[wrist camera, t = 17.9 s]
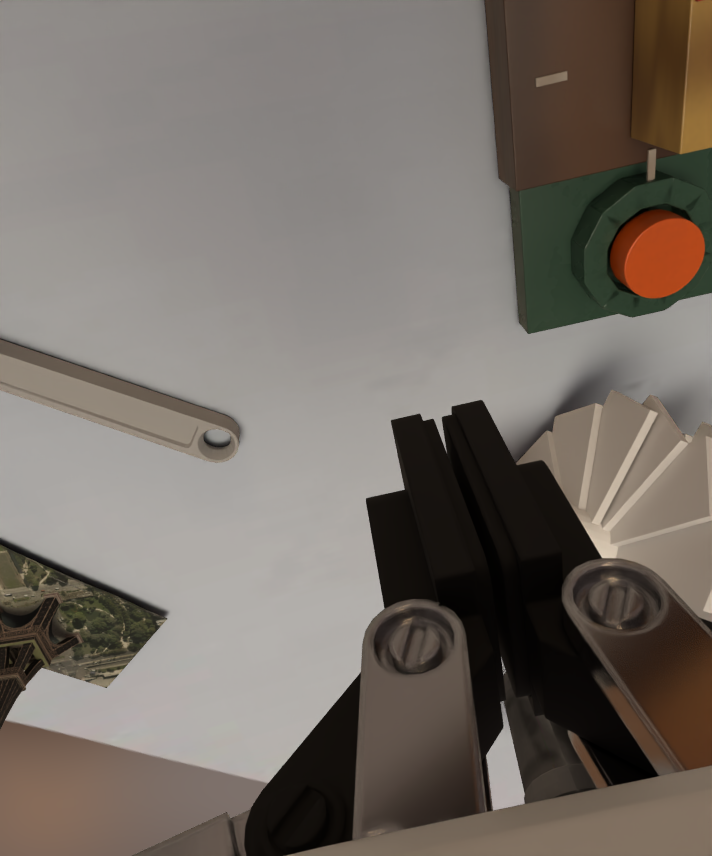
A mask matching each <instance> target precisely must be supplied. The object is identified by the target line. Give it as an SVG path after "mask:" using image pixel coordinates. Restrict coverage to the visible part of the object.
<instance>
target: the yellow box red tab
mask: <svg viewBox="0 0 712 856" xmlns="http://www.w3.org/2000/svg"><path fill="white" fill-rule="evenodd" d="M631 138H634V139H636V140H639V141H642V142H645V143H648V144H651V145H654V146H657V147H660V148H663V149H666V150H669V151H672V152H675V153H678V154H685V153H690V152H694V151H699V150H703V149H708V148H712V0H636V1H635V31H634V61H633V92H632V122H631Z"/></svg>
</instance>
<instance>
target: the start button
mask: <svg viewBox="0 0 712 856" xmlns="http://www.w3.org/2000/svg"><path fill="white" fill-rule="evenodd" d="M704 253H705V242H704V238H703V235H702V232H701V231H700V229H699V228H698V227H697V226H696V225H695V224H694V223H693V222H691V221H689V220H687V219H685V218H683V217H681V216H679V215H677V214H675V213H673V212H671V211H668V210H662V209H657V210H650V211H647V212H644V213H641V214H639V215H637V216H636V217H634V218H633V219H631V220H630V221H629V222H628V223H627V224H625V226H624V227H623V228H622V229H621V230H620V232H619V233H618V234H617V236H616V238H615V240H614V242H613V245H612V248H611V253H610V264H611V269H612V271H613V273H614V275H615V277H616V278H617V279H618V280H619V281H620V282H621V283H623V284H624V285H625V286H626V287H628V288H629V289H630V290H632V291H633V292H634V293H636V294H637V295H639V296H642V297H645V298H662V297H666V296H669V295H671V294H673V293H675V292H677V291H679V290H680V289H682V288H683V287H684V286H685V285H687V284H688V283H689V282H690V281H691V280H692V278H693V277H694V276H695V274H696V273H697V272H698V270H699V268H700V266H701V264H702V261H703V258H704Z"/></svg>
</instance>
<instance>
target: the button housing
mask: <svg viewBox="0 0 712 856" xmlns="http://www.w3.org/2000/svg"><path fill="white" fill-rule="evenodd" d="M646 175H647V162H642V163H638V164H634V165H629V166H625V167H621V168H616V169H612V170H608V171H604V172H599V173H595V174H591V175H586V176H582V177H578V178H573V179H569V180H565V181H560V182H556V183H552V184H547V185H543V186H539V187H534V188H530V189H526V190H521V191H515V190H514V189H512V188H511V187H510V186H509V189H510V203H511V217H512V230H513V244H514V258H515V272H516V286H517V300H518V314H519V323H520V324H521V325H522V327H523V328H524V329H525V331H526V332H527V333H528V334H531V333H535V332H539V331H544V330H548V329H553V328H557V327H562V326H566V325H571V324H575V323H579V322H584V321H588V320H593V319H597V318H602V317H606V316H610V315H615V314H622V315H625V316H628V317H636V316H641V315H645V314H650V313H654V312H658V311H663V310H665V309H667V308H669V307H670V306H671V305H673V304H674V303H676V302H677V301H678V300H681V299H686V298H690V297H695V296H699V295H703V294H708V293H712V148H708V149H703V150H699V151H694V152H690V153H685V154H677V155H673V156H668V157H664V158H660V159H656V166H655V179H653V180H649V181H647V180H646ZM657 209H662V210H668V211H671V212H673V213H675V214H677V215H679V216H681V217H683V218H685V219H687V220H689V221H691V222H693V223H694V224H695V225H696V226H697V227H698V228H699V229H700V231H701V232H702V235H703V238H704V242H705V253H704V258H703V261H702V264H701V266H700V268H699V270H698V272H697V273H696V274H695V276H694V277H693V278H692V280H691V281H690V282H689V283H688V284H687V285H685V286H684V287H683V288H682V289H680V290H679V291H677V292H675V293H673V294H671V295H669V296H666V297H662V298H645V297H642V296H639V295H637V294H636V293H634V292H633V291H632V290H630V289H629V288H628V287H626V286H625V285H624V284H623V283H621V282H620V281H619V280H618V279H617V278H616V277H615V275H614V273H613V271H612V269H611V264H610V253H611V248H612V245H613V242H614V240H615V238H616V236H617V234H618V233H619V232H620V230H621V229H622V228H623V227H624V226H625V224H627V223H628V222H629V221H630V220H631V219H633V218H634V217H636V216H637V215H639V214H641V213H644V212H647V211H650V210H657Z"/></svg>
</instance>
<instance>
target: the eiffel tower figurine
mask: <svg viewBox="0 0 712 856" xmlns="http://www.w3.org/2000/svg"><path fill="white" fill-rule="evenodd" d="M166 620H167V618H165V617H162V616H160V615H157V614H155V613H152V612H150V611H148V610H146V609H143V608H141V607H139V606H137V605H135V604H133V603H131V602H129V601H126V600H124V599H122V598H120V597H118V596H115V595H113V594H111V593H108V592H106V591H103V590H101V589H98V588H96V587H93V586H91V585H88V584H86V583H84V582H81V581H79V580H77V579H74V578H72V577H70V576H67V575H65V574H63V573H61V572H58V571H56V570H54V569H52V568H49V567H47V566H45V565H43V564H40V563H38V562H36V561H34V560H31V559H29V558H27V557H25V556H23V555H21V554H18V553H16V552H14V551H12V550H10V549H8V548H6V547H4V546H2V545H0V729H1V727H2V725H3V723H4V721H5V719H6V717H7V715H8V713H9V711H10V710H11V708H12V706H13V704H14V702H15V701H16V699H17V697H18V696H19V694H20V693H21V692H22V691H25V690H26V687H25V686H26V685H27V683H28V682H29V681H30V680H31V679H32V678H33V676H34V675H35V674H36V673H37V672H38V671H39V670H40V669H41V668H45V669H48V670H51V671H54V672H57V673H61V674H64V675H67V676H70V677H73V678H77V679H80V680H83V681H86V682H89V683H93V684H96V685H99V686H102V687H105V688H107V687H108V686H109V685H110V683H111V682H112V681H113V680H114V679H115V678H116V677H117V676H118V674H119V673H120V672H121V671H122V670H123V669H124V668H125V667H126V665H127V664H128V663H129V662H130V661H131V660H132V659H133V657H134V656H135V655H136V654H137V653H138V652H139V651H140V649H141V648H142V647H143V646H144V645H145V644H146V642H147V641H148V640H149V639H150V638H151V637H152V636H153V634H154V633H155V632H156V631H157V630H158V629H159V628H160V626H161V625H162V624H163V623H164V622H165V621H166ZM24 670H25V671H24Z"/></svg>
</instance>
